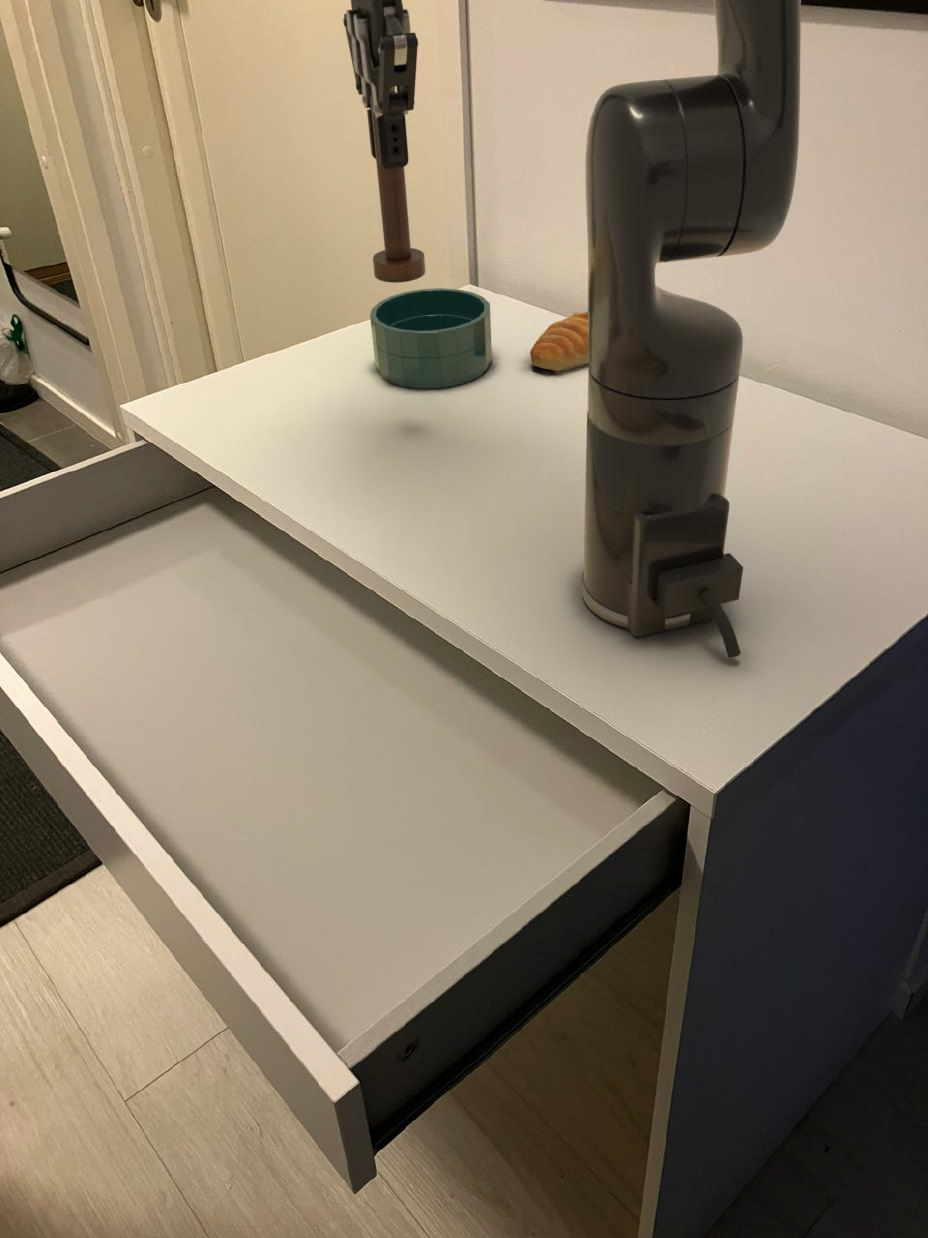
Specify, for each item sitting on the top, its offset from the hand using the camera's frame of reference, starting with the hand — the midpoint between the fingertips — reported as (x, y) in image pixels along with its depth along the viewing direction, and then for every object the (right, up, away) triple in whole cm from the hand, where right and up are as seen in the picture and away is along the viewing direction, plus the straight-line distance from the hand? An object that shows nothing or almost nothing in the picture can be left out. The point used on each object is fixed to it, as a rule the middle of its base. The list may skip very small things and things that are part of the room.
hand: (390, 161), depth 82 cm
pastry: (+17, -9, +25) cm, 32 cm away
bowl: (+3, -10, +25) cm, 27 cm away
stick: (0, -7, +6) cm, 9 cm away
